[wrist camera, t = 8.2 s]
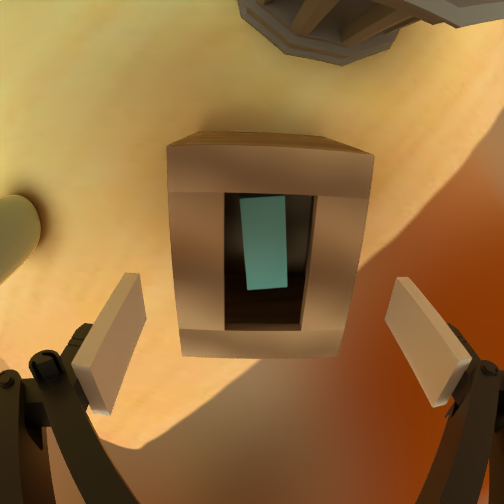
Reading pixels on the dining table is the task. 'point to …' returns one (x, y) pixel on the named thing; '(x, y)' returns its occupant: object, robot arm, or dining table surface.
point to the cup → (17, 233)
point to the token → (264, 240)
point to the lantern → (354, 23)
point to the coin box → (297, 242)
